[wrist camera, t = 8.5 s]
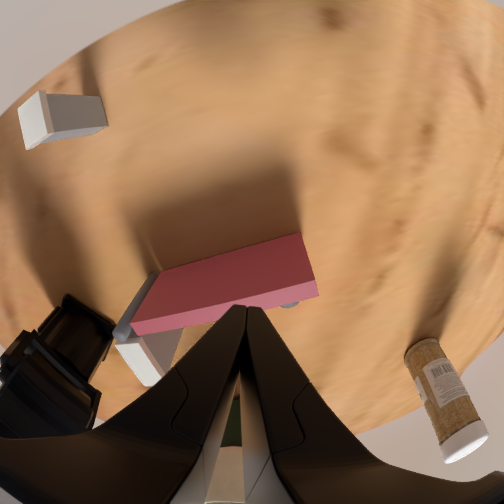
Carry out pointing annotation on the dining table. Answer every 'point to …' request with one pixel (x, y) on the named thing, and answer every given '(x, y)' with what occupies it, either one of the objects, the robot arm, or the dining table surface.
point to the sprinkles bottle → (445, 400)
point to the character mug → (229, 464)
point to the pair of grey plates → (161, 343)
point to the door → (228, 285)
